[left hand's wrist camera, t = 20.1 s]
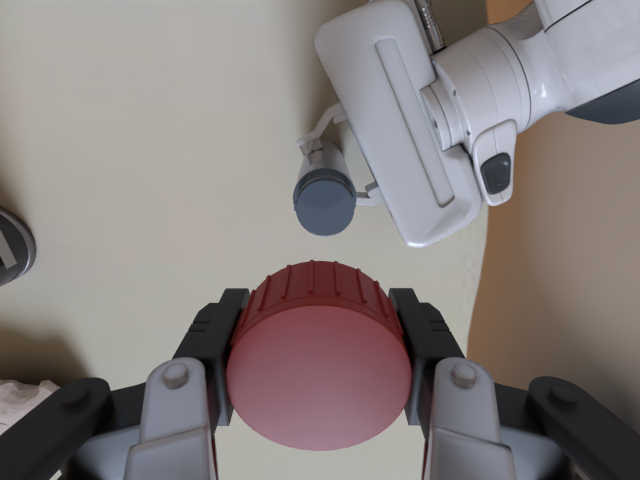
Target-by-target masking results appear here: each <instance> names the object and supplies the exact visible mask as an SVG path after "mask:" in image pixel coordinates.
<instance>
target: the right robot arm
mask: <svg viewBox="0 0 640 480" xmlns="http://www.w3.org/2000/svg"><path fill="white" fill-rule="evenodd" d="M314 47H315V50H316V52H317V54H318V57H319V59H320V61H321V63H322V65H323V68H324V70H325V72H326V74H327V76H328V78H329V81H330V83H331V85H332V87H333V89H334V92H335V94H336V96H337V98H338V100H339V102H338V103H336V104H335V105H333V106H331V107H329V108H327V110H326V111H325V113H324V114H323V116H322V118H321V119H320V121H319V122H318V124H317V126H316V127H315V130H314V131H312V132H310V133H308V134H306V135H304V136H303V137H301V138H299V139H298V140H297V143H298V145H299V147H300V149H301V151H302V152H303V154H304V156H307V155H309V154H310V153H312V151H316V150H319V149H320V148H322V147H323V145H322V143H321V140H320V136H321V134H322V133H323V131H324V130H325V128H326V127H327V125H328V123H329V122H330V120H331V119H333V121H334V123H335V124H338V123H340V122H342V121H344V120H346V119H347V120H348V122H349V124H350V127H351V129H352V131H353V133H354V135H355V138H356V140H357V142H358V144H359V146H360V149H361V151H362V153H363V155H364V157H365V160H366V162H367V164H368V166H369V168H370V170H371V173H372V175H373V177H374V179H375V182H373V183H371V184H369V185H367V186H365V189H366V192H356V197H357V199H356V205H369V206H373V205H375V204H378V203H380V202H382V201H385V203H386V206H387V208H388V210H389V212H390V214H391V216H392V219H393V221H394V223H395V225H396V227H397V230H398V232H399V234H400V236H401V238H402V240H403V242H404V243H405V245H406V246H409V247H414V248H423V247H426V246H428V245H430V244H433V243H435V242H437V241H439V240H441V239H443V238H445V237H447V236H449V235H451V234H452V233H454V232H456V231H458V230H459V229H461V228H463V227H464V226H466V225H468V224H469V223H470V222H471V221H473V220H474V219H475V218H476V217H477V215H478V214H479V212H480V210H481V207H482V202H484V203H486V204H488V205H491V206H495V205H499V204H501V203H504V202H505V201H507V200H509V199H510V197H511V195H512V191H513V169H514V153H515V143H516V136H517V134H519V133H521V132H523V131H524V130H526V129H528V128H529V127H530V126H531V125H533V124H534V123H535V122H536V121H537V120H539V119H540V118H542V117H543V116H545V115H547V114H550V113H552V112H556V111H560V110H564V111H565V113H566V114H568V115H570V116H573V117H577V118H581V119H585V120H590V121H595V122H599V123H604V124H621V123H626V122H630V121H634V120H638V119H640V0H534V1H533V2H531V3H530V4H529V5H528V6H527V7H526V8H525V9H524V10H522V11H521V12H520V13H519V14H518V15H516V16H515V17H513V18H511V19H509V20H507V21H504V22H500V23H494V24H491V25H488V26H485V27H483V28H481V29H480V30H478V31H476V32H474V33H472V34H470V35H468V36H466V37H465V38H463V39H461V40H459V41H457V42H455V43H453V44H452V45H450V46H448V47H447V46H446V45H445V42H444V39H443V37H442V34H441V31H440V28H439V26H438V23H437V21H436V20H435V17H434V15H433V13H432V9H431V2H430V0H369V1H368V4H366V5H363V6H361V7H358V8H355V9H353V10H351V11H348V12H346V13H344V14H342V15H339V16H337V17H335V18H333V19H331V20H329V21H328V22H326V23H324V24H322V25H321V26H320V27H319V28H318V30H317V32H316V35H315V39H314ZM432 53H433V55H431V56H429V55H430V54H432Z"/></svg>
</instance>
